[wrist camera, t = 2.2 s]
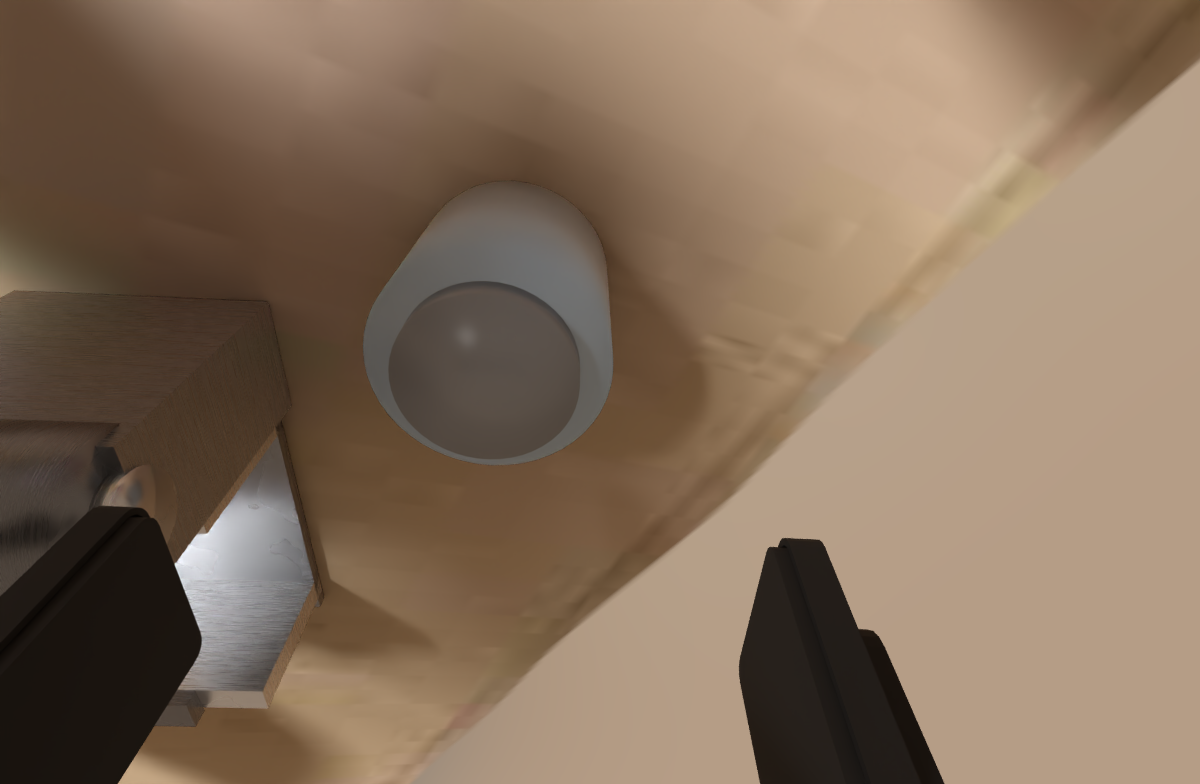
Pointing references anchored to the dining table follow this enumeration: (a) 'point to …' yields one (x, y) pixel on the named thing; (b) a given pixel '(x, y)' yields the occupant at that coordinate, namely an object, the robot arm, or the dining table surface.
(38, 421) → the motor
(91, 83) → the dining table surface
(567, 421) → the grey plastic cylinder
